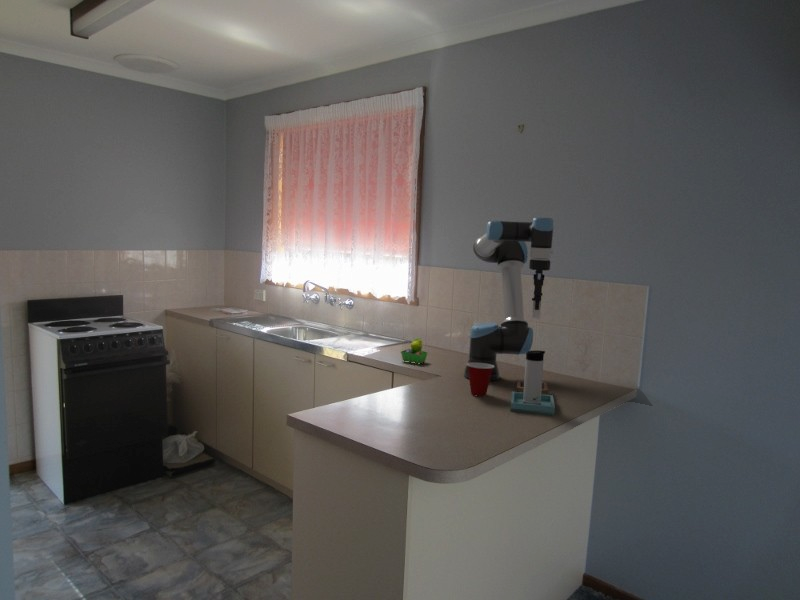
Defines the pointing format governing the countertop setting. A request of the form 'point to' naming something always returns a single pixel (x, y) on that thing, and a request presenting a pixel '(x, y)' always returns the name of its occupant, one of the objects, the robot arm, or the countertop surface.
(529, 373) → the travel mug
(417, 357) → the fruit basket
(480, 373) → the plastic cup
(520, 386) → the open wooden box
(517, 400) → the tray
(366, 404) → the countertop surface
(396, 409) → the countertop surface
